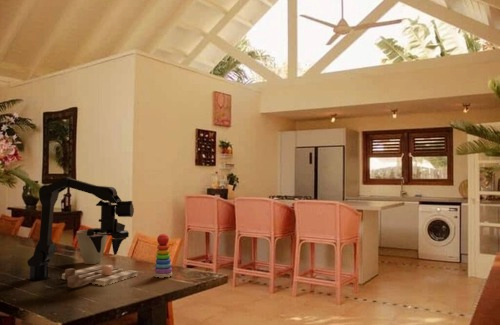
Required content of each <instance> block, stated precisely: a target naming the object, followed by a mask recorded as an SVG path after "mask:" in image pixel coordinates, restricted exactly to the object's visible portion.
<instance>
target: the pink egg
mask: <svg viewBox="0 0 500 325" xmlns="http://www.w3.org/2000/svg"><path fill="white" fill-rule="evenodd" d="M101 266H102V272H101V275H112V269H113V268H114V266H113V265H112V264H103V265H101Z"/></svg>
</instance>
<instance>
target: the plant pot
mask: <svg viewBox="0 0 500 325" xmlns="http://www.w3.org/2000/svg"><path fill="white" fill-rule="evenodd" d="M87 230H88V229H82V230H78V231H76V237H77V238H76V239H77V243H78V248H79V251H80V254H81V255H80V256H81V257H82V261H83V262H84V264H85V265H96V264H100V263H101V261H102V258H103V255H104V252H105V249H106V245H107V241H108V236H109V235H104V236H103V238H102V240H101V251H100V253H98V252H97V250H96V248H95V246H94V244H93V242H92V240H91V239H90V238H89V236H87ZM105 233H106V232H105Z"/></svg>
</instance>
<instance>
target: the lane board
mask: <svg viewBox="0 0 500 325" xmlns="http://www.w3.org/2000/svg"><path fill="white" fill-rule="evenodd" d="M102 266H103V265H94V266H90V267H86V268H85V267H84V268H81V269H77V270H75V273H79V272H83V271H87V270H91V269H95V268H99V267H102ZM101 272H102V270H99V271H95V272H91V273H87V274H83V275H79V280H83V279H87V278H90V277H94V276H98V275H101ZM112 273H115V274H114V275H110V276H107V277H103V278H100V279H96V280H95V282H91V283H92V284H91V285H95V284H98V285H97V286H100V285H102V286H101V287H106V286H109V285H113V284H116V283H119V282H122V281H121V280H123V281H125V280H124V279H126V280H128V279H127V278H129V279H131V278H130V277H133V278H135V277H134V276H136V277H138V276H139V270H137V271H136V270H132V269H131V270H130V269H129V270H126V271H124V269H123V268H118V267H113V269H112ZM137 275H138V276H137ZM61 279H62V280H66V279H65V272H64V273H62V274H61ZM67 281H68V279H67ZM118 281H119V282H118ZM115 282H116V283H115ZM112 283H113V284H112ZM108 284H109V285H108ZM105 285H106V286H105Z"/></svg>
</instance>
